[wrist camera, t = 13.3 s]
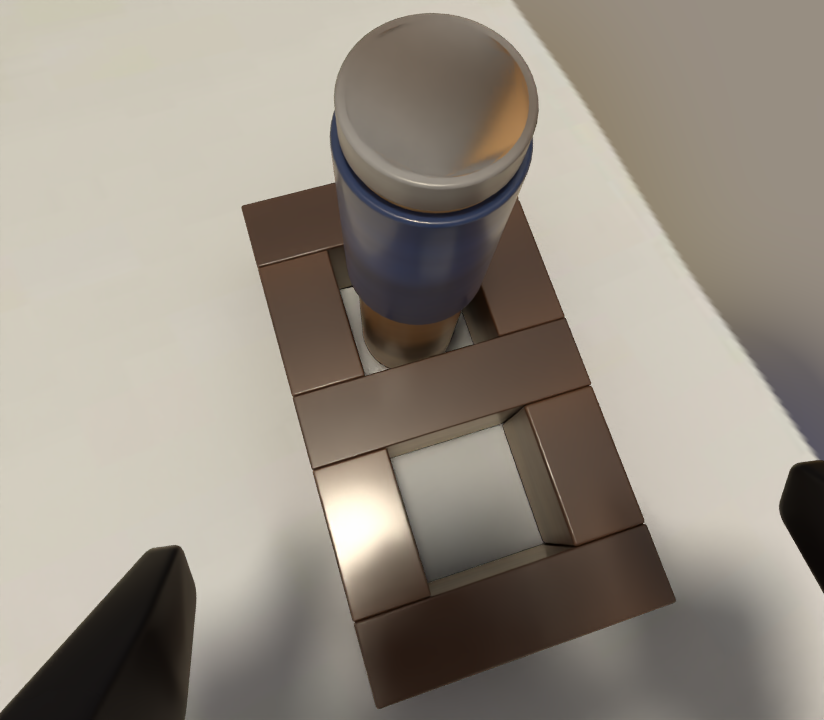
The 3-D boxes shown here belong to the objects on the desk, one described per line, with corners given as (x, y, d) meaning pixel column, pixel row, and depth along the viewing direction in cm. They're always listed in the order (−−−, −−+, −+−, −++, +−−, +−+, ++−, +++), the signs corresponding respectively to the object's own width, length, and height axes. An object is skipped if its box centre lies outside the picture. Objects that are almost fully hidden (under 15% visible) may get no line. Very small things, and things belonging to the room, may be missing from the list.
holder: (628, 589, 20) (678, 602, 17) (377, 678, 19) (376, 710, 16) (480, 196, 24) (496, 141, 20) (261, 252, 23) (240, 205, 19)
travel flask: (445, 390, 22) (525, 220, 10) (343, 365, 22) (296, 165, 10) (467, 294, 23) (565, 32, 11) (370, 270, 23) (357, -17, 11)
